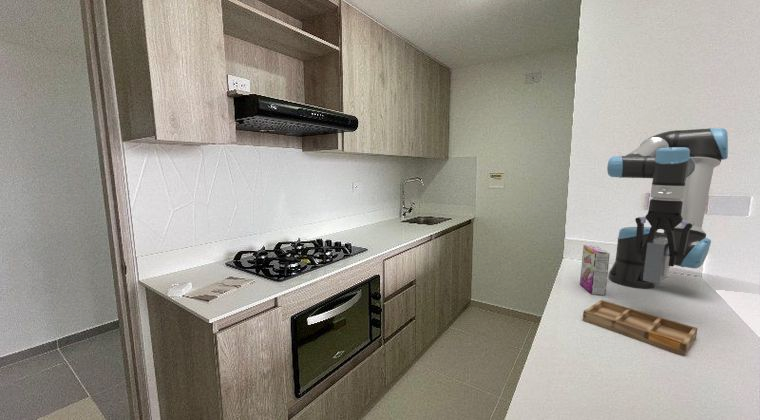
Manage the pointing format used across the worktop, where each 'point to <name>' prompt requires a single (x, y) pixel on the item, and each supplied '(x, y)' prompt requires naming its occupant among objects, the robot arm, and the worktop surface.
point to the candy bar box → (594, 269)
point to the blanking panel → (655, 260)
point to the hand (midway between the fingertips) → (656, 273)
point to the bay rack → (642, 326)
